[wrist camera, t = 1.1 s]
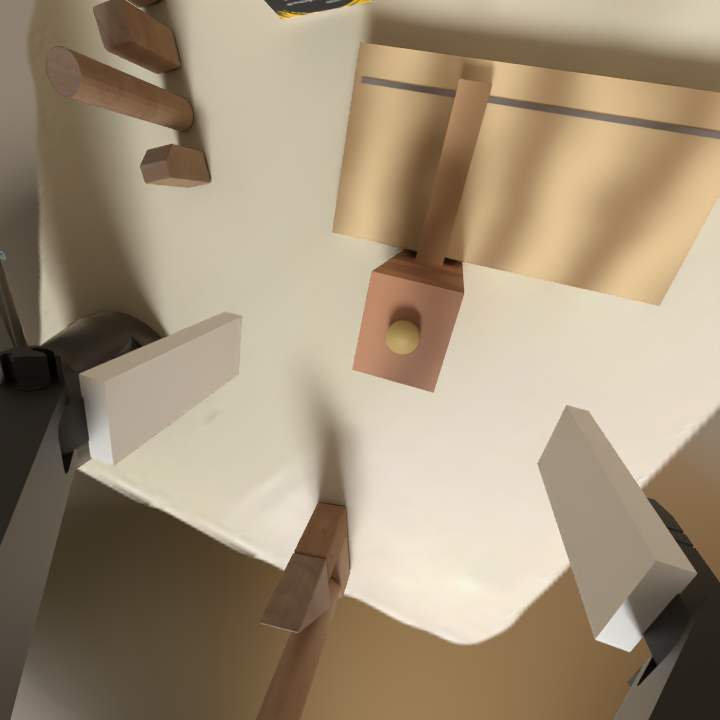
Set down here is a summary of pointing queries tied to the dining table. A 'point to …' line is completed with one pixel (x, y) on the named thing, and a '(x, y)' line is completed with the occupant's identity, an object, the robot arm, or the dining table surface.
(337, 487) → the dining table surface
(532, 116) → the board
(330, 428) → the dining table surface
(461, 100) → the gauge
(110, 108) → the wood blocks
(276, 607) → the wooden post assembly
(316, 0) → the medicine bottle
